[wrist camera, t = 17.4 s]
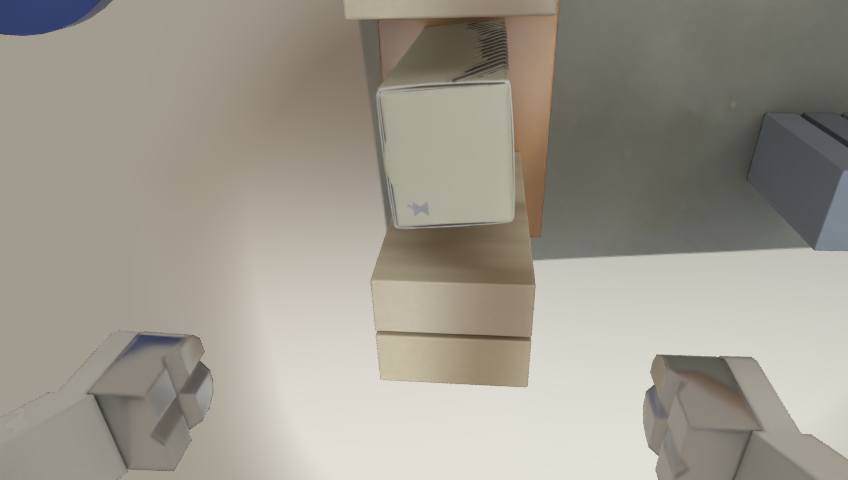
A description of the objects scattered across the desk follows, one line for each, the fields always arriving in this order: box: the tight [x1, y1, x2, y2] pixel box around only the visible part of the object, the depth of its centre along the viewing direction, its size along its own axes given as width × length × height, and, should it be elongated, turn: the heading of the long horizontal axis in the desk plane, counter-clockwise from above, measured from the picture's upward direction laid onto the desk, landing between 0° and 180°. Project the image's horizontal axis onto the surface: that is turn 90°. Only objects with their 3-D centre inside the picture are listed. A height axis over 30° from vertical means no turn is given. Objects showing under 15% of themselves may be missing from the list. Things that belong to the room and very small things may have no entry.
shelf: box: [343, 0, 560, 387], centre depth 31 cm, size 9×20×31 cm, turn 2°
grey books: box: [747, 113, 848, 251], centre depth 42 cm, size 8×6×12 cm
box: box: [376, 20, 515, 229], centre depth 24 cm, size 5×4×13 cm
